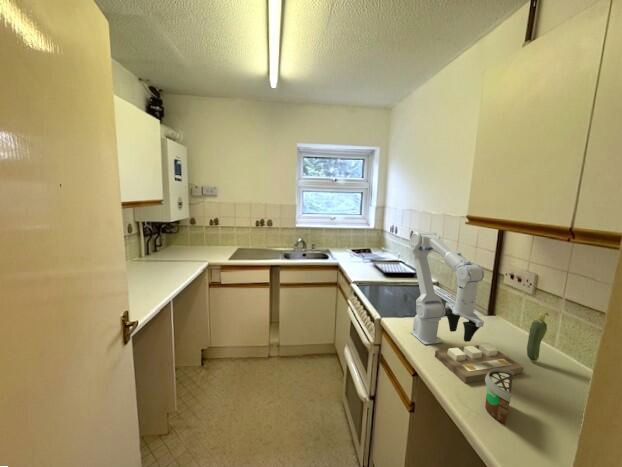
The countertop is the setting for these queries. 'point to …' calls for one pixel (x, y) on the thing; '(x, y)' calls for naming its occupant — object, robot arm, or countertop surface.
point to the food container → (498, 393)
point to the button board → (477, 365)
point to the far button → (488, 350)
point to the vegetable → (536, 337)
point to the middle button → (472, 352)
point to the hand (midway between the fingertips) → (459, 335)
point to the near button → (456, 354)
